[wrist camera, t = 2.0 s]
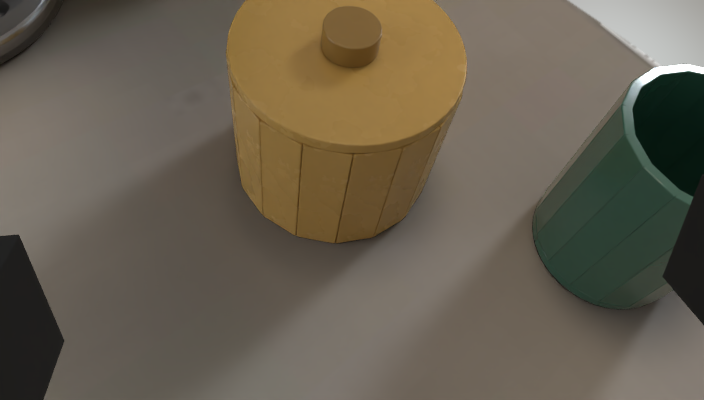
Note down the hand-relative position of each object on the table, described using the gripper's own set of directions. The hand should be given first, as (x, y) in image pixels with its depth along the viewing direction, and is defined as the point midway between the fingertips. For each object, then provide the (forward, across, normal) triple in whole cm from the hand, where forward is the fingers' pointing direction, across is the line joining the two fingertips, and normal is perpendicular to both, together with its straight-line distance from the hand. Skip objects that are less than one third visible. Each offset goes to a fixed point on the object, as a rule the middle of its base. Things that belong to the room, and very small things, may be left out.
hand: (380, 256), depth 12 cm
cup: (+15, +16, -13) cm, 25 cm away
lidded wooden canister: (+20, +1, -10) cm, 22 cm away
